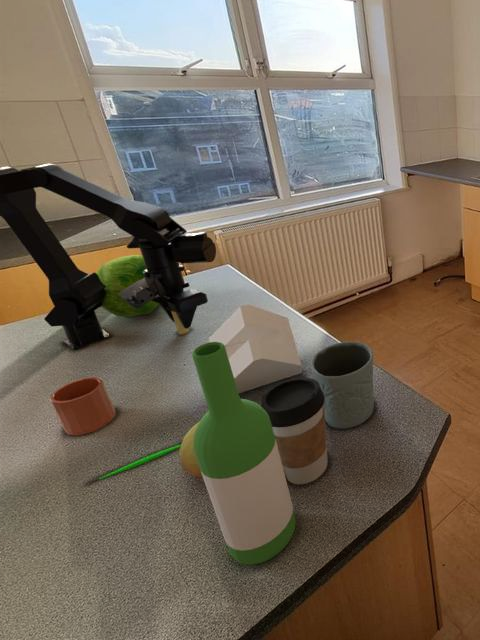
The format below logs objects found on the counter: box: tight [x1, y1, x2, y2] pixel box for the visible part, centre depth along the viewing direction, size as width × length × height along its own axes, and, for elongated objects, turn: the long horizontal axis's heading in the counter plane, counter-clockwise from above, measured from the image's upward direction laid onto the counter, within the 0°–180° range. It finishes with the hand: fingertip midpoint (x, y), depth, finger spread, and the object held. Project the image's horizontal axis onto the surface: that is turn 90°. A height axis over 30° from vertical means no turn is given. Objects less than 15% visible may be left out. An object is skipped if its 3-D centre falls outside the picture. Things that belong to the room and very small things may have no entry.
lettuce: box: [95, 254, 160, 318], centre depth 109 cm, size 15×23×16 cm
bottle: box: [191, 342, 297, 566], centre depth 51 cm, size 8×8×30 cm
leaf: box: [92, 444, 181, 483], centre depth 68 cm, size 1×14×1 cm, turn 130°
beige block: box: [208, 304, 303, 394], centre depth 84 cm, size 14×11×18 cm
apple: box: [178, 421, 203, 479], centre depth 66 cm, size 10×10×8 cm
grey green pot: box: [310, 341, 375, 430], centre depth 76 cm, size 10×10×12 cm
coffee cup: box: [260, 377, 329, 485], centre depth 64 cm, size 8×8×15 cm
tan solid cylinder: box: [171, 311, 191, 335], centre depth 101 cm, size 2×2×8 cm
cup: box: [49, 376, 116, 436], centre depth 74 cm, size 6×6×7 cm
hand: (181, 324), depth 101 cm, fingers open, 5 cm apart
